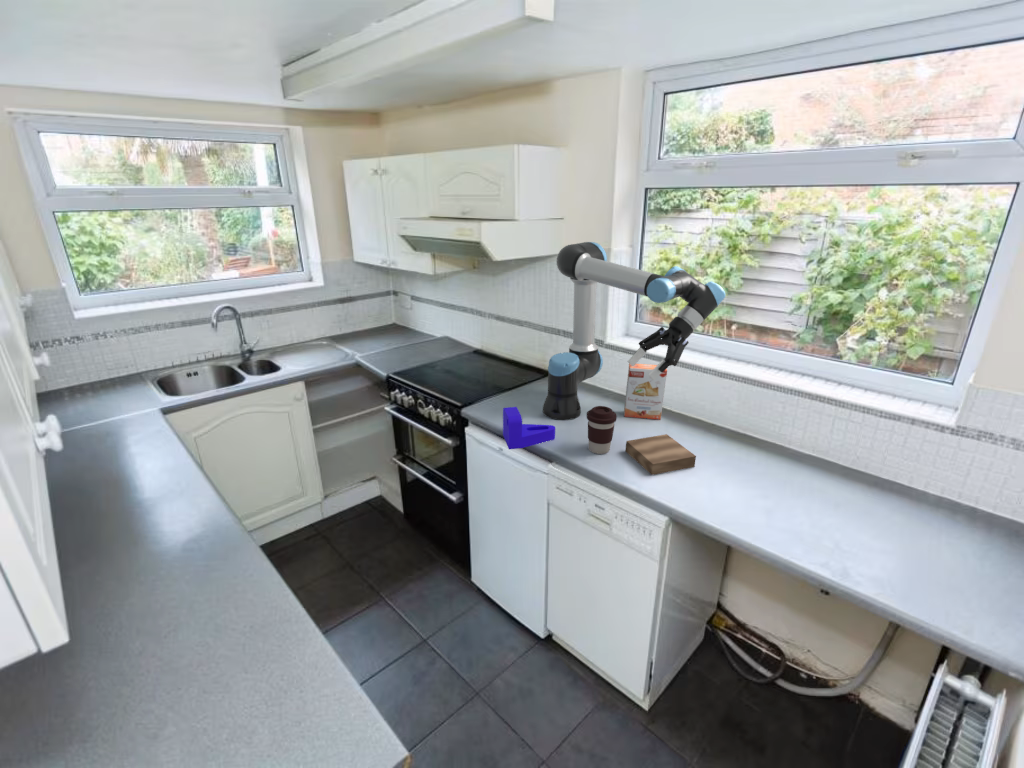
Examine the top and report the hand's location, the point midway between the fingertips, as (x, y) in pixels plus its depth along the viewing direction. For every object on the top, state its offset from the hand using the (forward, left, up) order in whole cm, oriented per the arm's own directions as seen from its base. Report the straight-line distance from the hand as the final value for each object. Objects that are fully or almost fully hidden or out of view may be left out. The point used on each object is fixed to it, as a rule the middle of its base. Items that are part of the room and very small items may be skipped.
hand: (640, 370), depth 167 cm
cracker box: (-19, +16, -28) cm, 38 cm away
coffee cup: (0, -13, -28) cm, 31 cm away
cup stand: (+12, +3, -28) cm, 30 cm away
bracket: (-14, -33, -28) cm, 46 cm away
